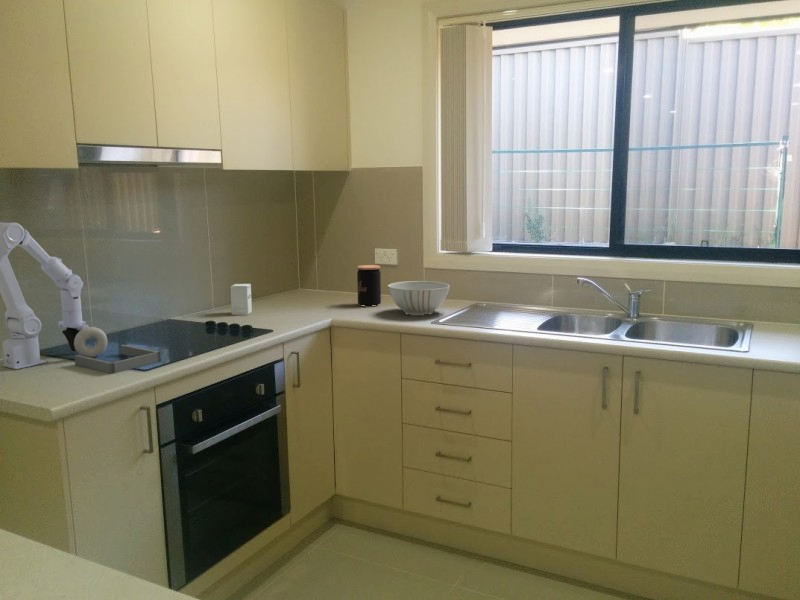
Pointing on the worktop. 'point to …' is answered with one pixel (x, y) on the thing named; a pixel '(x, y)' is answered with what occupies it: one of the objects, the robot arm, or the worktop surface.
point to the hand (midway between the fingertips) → (75, 350)
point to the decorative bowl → (418, 296)
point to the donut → (84, 335)
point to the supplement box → (241, 299)
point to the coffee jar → (369, 285)
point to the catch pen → (139, 359)
